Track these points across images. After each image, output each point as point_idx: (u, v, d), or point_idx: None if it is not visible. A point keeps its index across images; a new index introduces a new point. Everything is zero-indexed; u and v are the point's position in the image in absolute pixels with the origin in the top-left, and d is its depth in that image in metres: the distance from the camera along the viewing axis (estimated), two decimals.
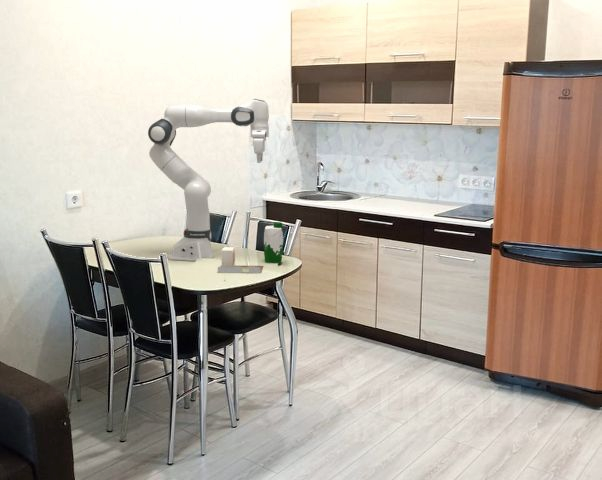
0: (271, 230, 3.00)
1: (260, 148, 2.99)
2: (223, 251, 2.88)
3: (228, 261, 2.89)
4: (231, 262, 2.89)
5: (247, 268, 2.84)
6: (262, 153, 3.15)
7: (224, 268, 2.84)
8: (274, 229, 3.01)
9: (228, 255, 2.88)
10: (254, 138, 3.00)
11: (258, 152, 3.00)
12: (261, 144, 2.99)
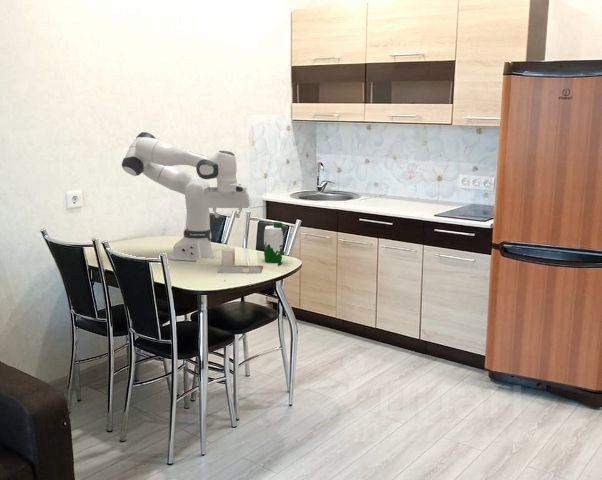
0: (271, 230, 3.00)
1: (249, 201, 2.88)
2: (223, 251, 2.88)
3: (228, 261, 2.89)
4: (231, 262, 2.89)
5: (247, 268, 2.84)
6: None
7: (224, 268, 2.84)
8: (274, 229, 3.01)
9: (228, 255, 2.88)
10: (245, 192, 2.84)
11: None
12: None
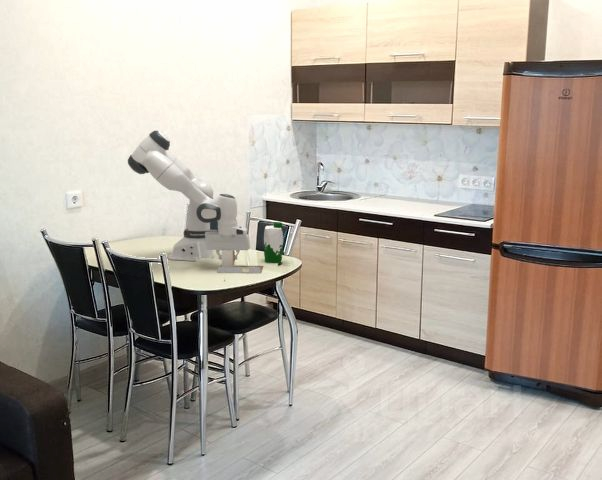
0: (271, 230, 3.00)
1: (249, 243, 2.92)
2: (223, 251, 2.88)
3: (228, 261, 2.89)
4: (231, 262, 2.89)
5: (247, 268, 2.84)
6: (219, 250, 2.93)
7: (224, 268, 2.84)
8: (274, 229, 3.01)
9: (228, 255, 2.88)
10: (246, 235, 2.88)
11: None
12: None
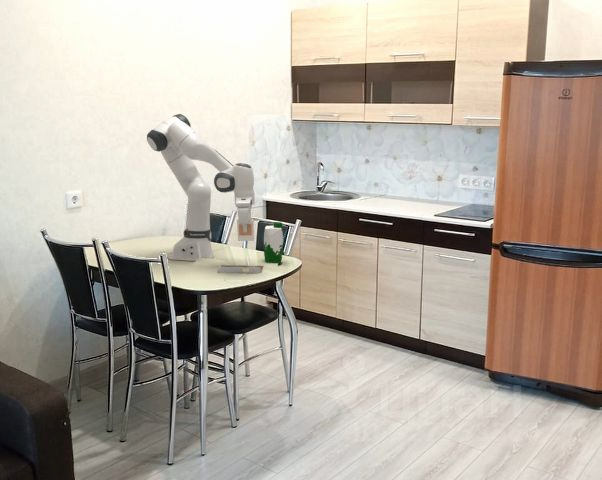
0: (271, 230, 3.00)
1: (245, 218, 2.74)
2: None
3: None
4: None
5: (247, 268, 2.84)
6: None
7: (224, 268, 2.84)
8: (274, 229, 3.01)
9: None
10: (238, 208, 2.74)
11: (243, 223, 2.74)
12: (246, 214, 2.74)
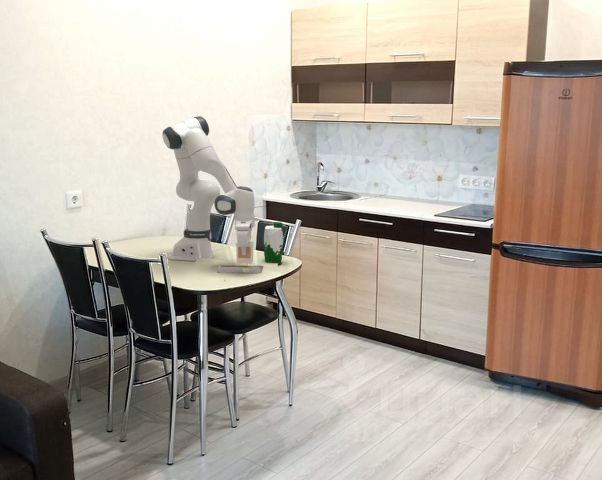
0: (271, 230, 3.01)
1: (244, 242, 2.75)
2: None
3: None
4: None
5: (247, 268, 2.84)
6: None
7: (224, 268, 2.84)
8: (274, 229, 3.01)
9: None
10: (238, 231, 2.76)
11: (242, 246, 2.76)
12: (245, 237, 2.75)
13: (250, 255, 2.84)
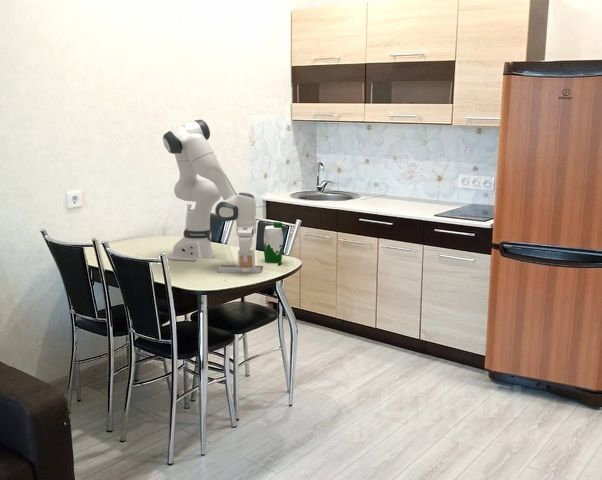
0: (271, 230, 3.00)
1: (246, 248, 2.76)
2: (239, 251, 2.89)
3: None
4: (238, 263, 2.86)
5: (247, 268, 2.84)
6: None
7: (224, 268, 2.84)
8: (274, 229, 3.01)
9: None
10: (240, 237, 2.77)
11: (244, 252, 2.77)
12: (247, 244, 2.76)
13: (252, 263, 2.85)
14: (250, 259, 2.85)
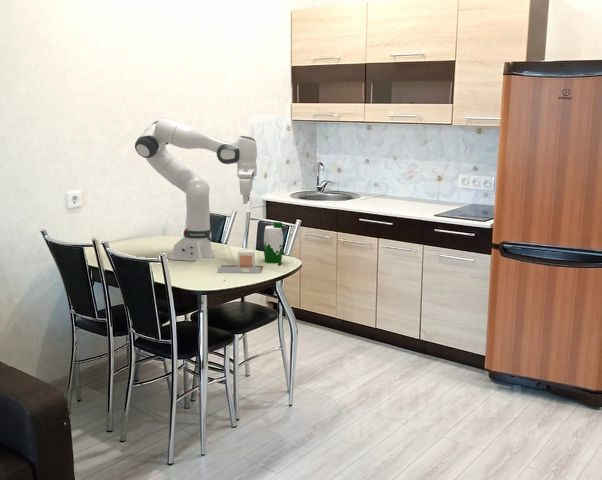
0: (271, 230, 3.00)
1: (247, 189, 2.82)
2: (239, 251, 2.89)
3: None
4: (238, 263, 2.86)
5: (247, 268, 2.84)
6: (249, 192, 2.97)
7: (224, 268, 2.84)
8: (274, 229, 3.01)
9: None
10: (240, 178, 2.82)
11: (244, 193, 2.82)
12: (248, 185, 2.81)
13: (252, 263, 2.85)
14: (250, 259, 2.85)
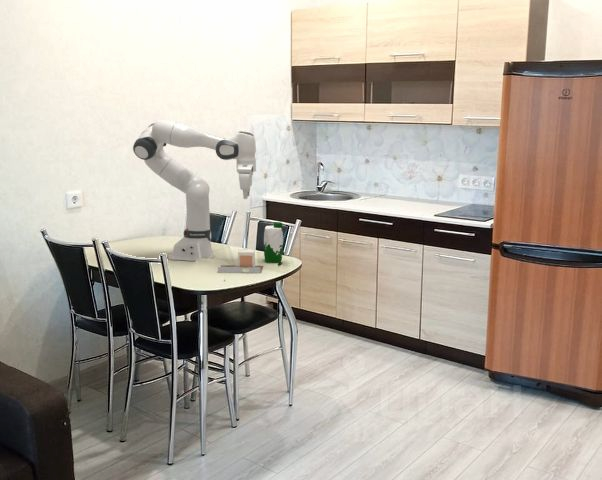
0: (271, 230, 3.00)
1: (246, 184, 2.82)
2: (239, 251, 2.89)
3: None
4: (238, 263, 2.86)
5: (247, 268, 2.84)
6: (249, 187, 2.98)
7: (224, 268, 2.84)
8: (274, 229, 3.01)
9: None
10: (240, 173, 2.83)
11: (244, 188, 2.83)
12: (247, 180, 2.82)
13: (252, 263, 2.85)
14: (250, 259, 2.85)
